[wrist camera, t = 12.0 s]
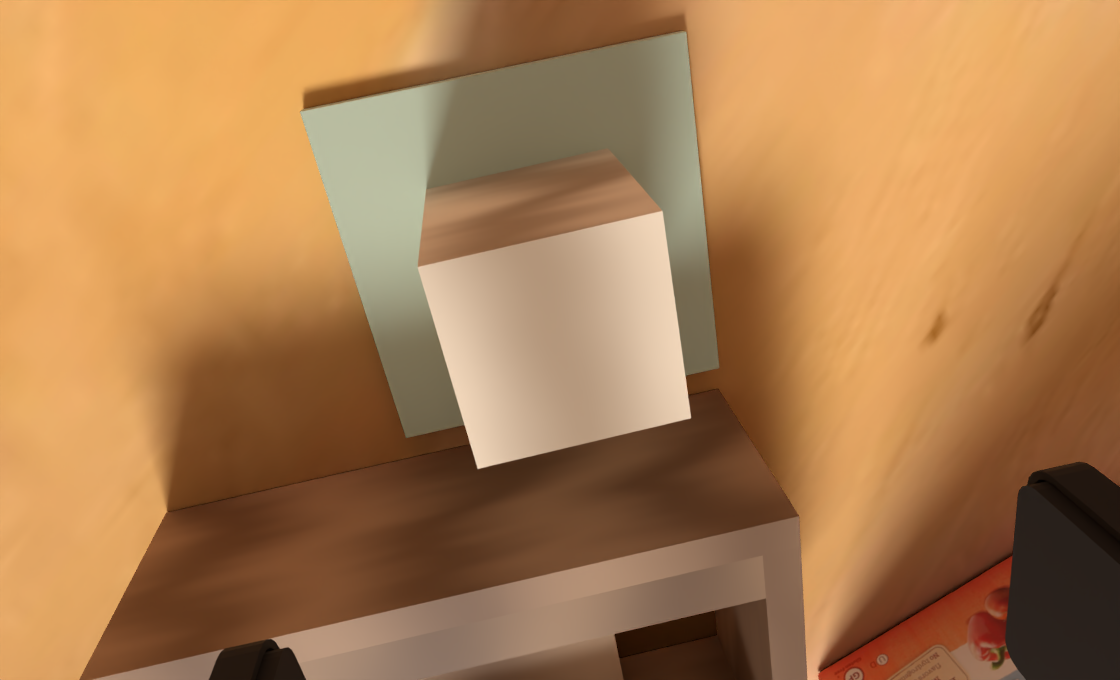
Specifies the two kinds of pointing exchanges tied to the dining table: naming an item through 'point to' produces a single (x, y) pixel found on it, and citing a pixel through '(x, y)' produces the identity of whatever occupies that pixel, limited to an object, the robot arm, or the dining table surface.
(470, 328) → the block
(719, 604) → the crate
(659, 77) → the panel
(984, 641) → the cracker box
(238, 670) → the robot arm
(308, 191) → the dining table surface
